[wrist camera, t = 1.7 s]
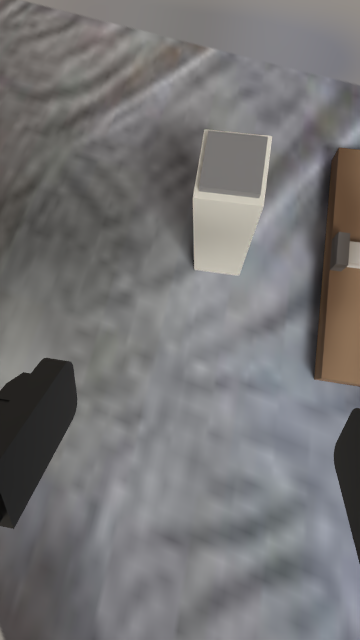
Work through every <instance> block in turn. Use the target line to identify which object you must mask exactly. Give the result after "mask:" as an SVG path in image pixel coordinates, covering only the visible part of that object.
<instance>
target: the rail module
mask: <svg viewBox="0 0 360 640" xmlns="http://www.w3.org/2000/svg"><path fill="white" fill-rule="evenodd" d="M271 142H272V136H265V135H255V134H245V133H235V132H226V131H216V130H206V129H204V135H203V141H202V147H201V153H200V158H199V164H198V170H197V176H196V182H195V188H194V194H193V232H194V270H200V271H207V272H215V273H222V274H229V275H237V276H239V275H240V272H241V269H242V266H243V263H244V260H245V258H246V255H247V252H248V249H249V246H250V243H251V241H252V238H253V235H254V232H255V229H256V226H257V224H258V221H259V218H260V215H261V212H262V209H263V207H264V199H265V191H266V182H267V174H268V166H269V158H270V150H271Z"/></svg>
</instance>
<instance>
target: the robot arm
mask: <svg viewBox="0 0 360 640" xmlns="http://www.w3.org/2000/svg"><path fill="white" fill-rule="evenodd" d="M76 407H77V393H76V385H75V377H74V369H73V365H72V363H71V362H69V361H63V360H57V359H50V358H44V359H42V360H41V361H40V363H39V364H38V365H37V367H36V368H35V369H34V370H33V372H32V373H31V374H30V373H24V372H23V373H22V374H20V375H19V376H17V377H16V378H14V379H13V380H11V381H10V382H8V383H6V385H5V386H4V387H3V388H2V389H1V391H0V526H3V527H8V528H13V529H14V527H15V526H16V524H17V522H18V520H19V518H20V516H21V514H22V513H23V511H24V509H25V507H26V505H27V503H28V501H29V500H30V498H31V496H32V494H33V492H34V490H35V488H36V487H37V485H38V483H39V481H40V479H41V477H42V475H43V474H44V472H45V470H46V468H47V466H48V464H49V462H50V461H51V459H52V457H53V455H54V453H55V451H56V449H57V448H58V446H59V444H60V442H61V440H62V438H63V436H64V435H65V433H66V431H67V429H68V427H69V425H70V423H71V422H72V420H73V417H74V415H75V412H76ZM334 464H335V469H336V473H337V477H338V481H339V485H340V489H341V492H342V496H343V500H344V504H345V508H346V512H347V516H348V520H349V524H350V528H351V532H352V536H353V539H354V543H355V547H356V551H357V555H358V559H359V563H360V409H359V408H355V409H354V410H353V411H352V412H351V414H350V416H349V418H348V420H347V422H346V424H345V426H344V428H343V430H342V432H341V434H340V436H339V438H338V440H337V443H336V445H335V450H334Z"/></svg>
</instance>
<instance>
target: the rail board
mask: <svg viewBox="0 0 360 640" xmlns="http://www.w3.org/2000/svg"><path fill="white" fill-rule="evenodd" d="M314 379H315V380H321V381H328V382H334V383H340V384H347V385H353V386H359V387H360V150H357V149H347V148H339V149H338V150H337V152H336V154H335V156H334V157H333V159H332V163H331V175H330V188H329V200H328V213H327V225H326V238H325V250H324V263H323V275H322V287H321V300H320V312H319V325H318V337H317V350H316V362H315V375H314Z"/></svg>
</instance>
